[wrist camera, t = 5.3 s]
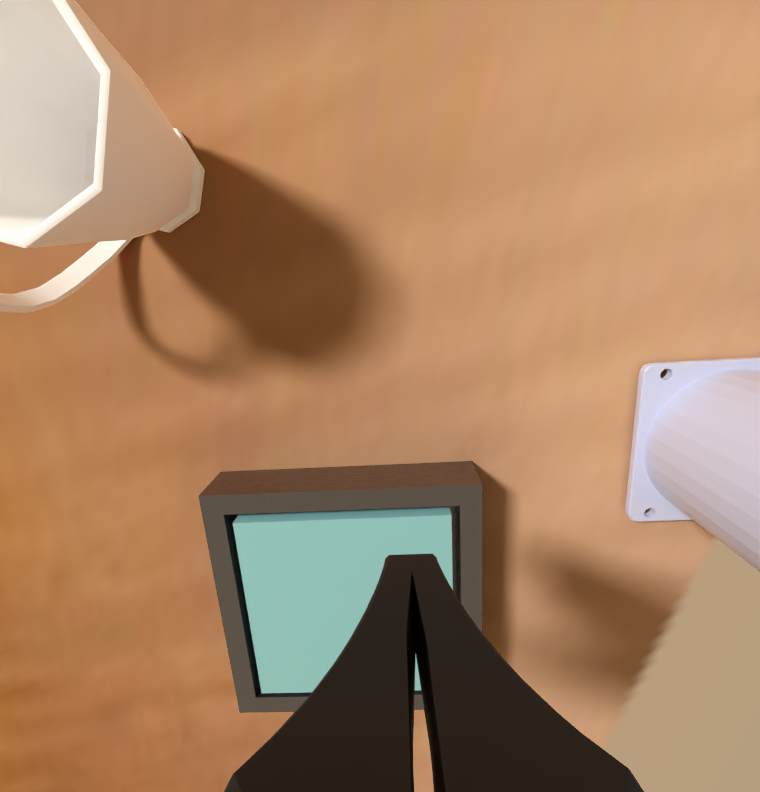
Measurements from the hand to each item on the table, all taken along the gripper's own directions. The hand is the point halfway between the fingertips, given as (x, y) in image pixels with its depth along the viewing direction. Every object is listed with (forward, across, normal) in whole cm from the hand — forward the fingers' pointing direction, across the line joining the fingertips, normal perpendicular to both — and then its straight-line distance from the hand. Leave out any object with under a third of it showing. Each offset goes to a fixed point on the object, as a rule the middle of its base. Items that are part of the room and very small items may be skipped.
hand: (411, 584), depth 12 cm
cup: (+10, +11, -12) cm, 19 cm away
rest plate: (+8, +3, +7) cm, 11 cm away
